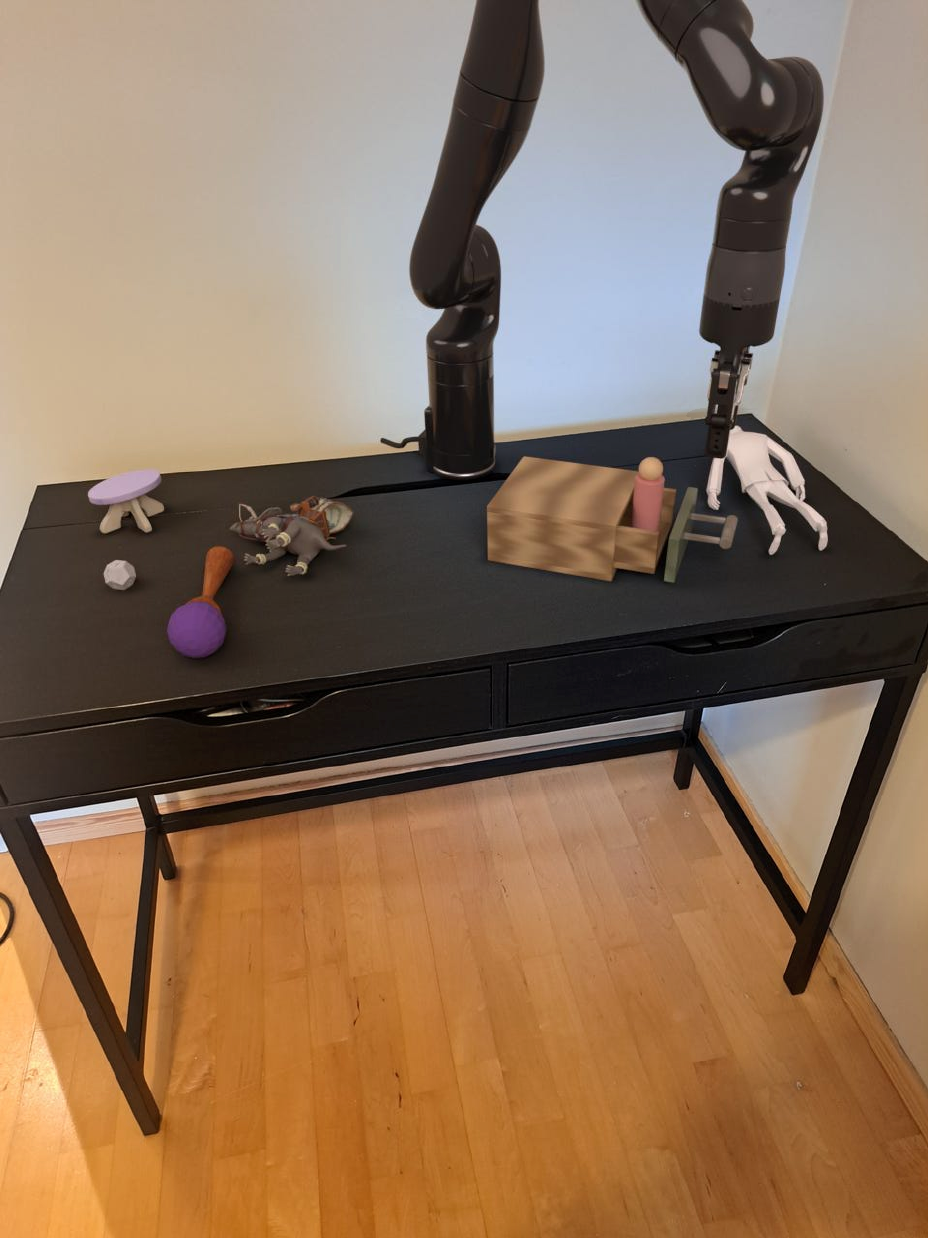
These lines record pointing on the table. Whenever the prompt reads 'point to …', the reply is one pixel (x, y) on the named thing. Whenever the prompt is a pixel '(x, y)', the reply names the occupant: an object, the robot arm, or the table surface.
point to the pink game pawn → (648, 495)
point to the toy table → (127, 498)
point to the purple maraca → (202, 611)
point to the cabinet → (559, 517)
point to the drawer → (666, 536)
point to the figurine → (295, 530)
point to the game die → (119, 575)
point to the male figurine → (765, 481)
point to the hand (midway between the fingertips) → (720, 441)
